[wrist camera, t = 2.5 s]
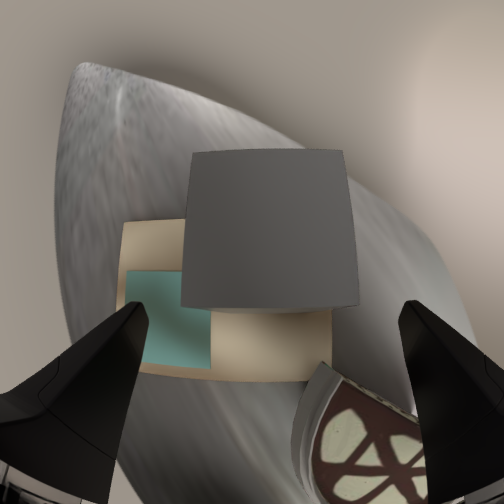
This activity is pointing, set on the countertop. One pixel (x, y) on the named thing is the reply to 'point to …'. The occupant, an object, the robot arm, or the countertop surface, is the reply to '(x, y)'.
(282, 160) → the tall gray pillar
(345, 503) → the food container
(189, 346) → the stand board
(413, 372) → the robot arm
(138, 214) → the countertop surface
